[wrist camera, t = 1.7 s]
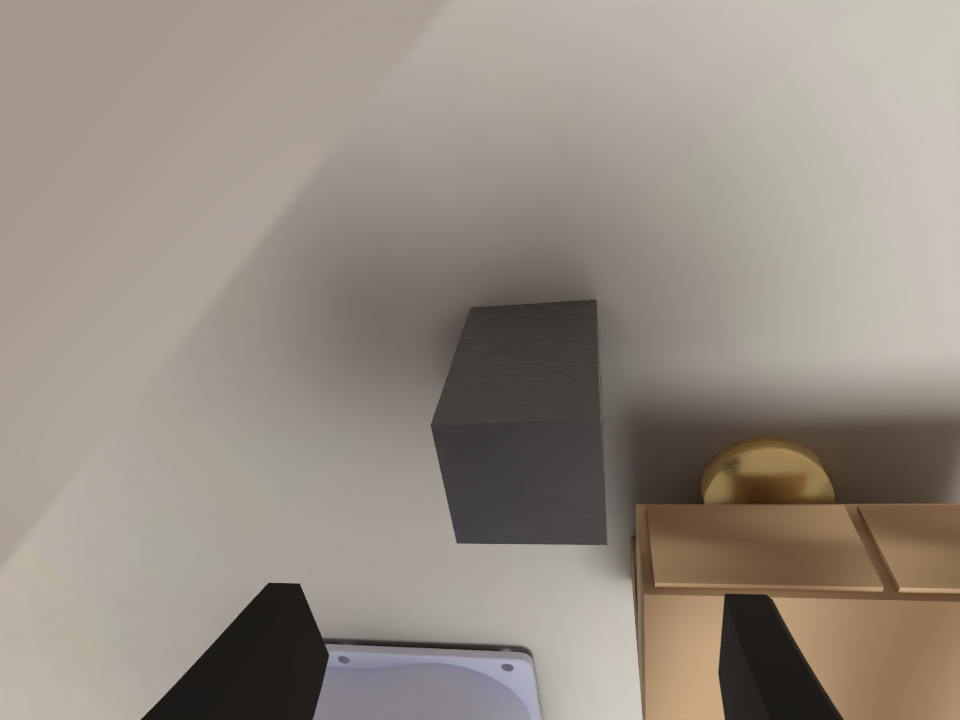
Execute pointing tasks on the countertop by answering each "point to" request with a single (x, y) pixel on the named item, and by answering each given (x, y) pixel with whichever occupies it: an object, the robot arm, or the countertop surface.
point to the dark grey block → (525, 427)
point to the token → (766, 474)
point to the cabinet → (803, 601)
